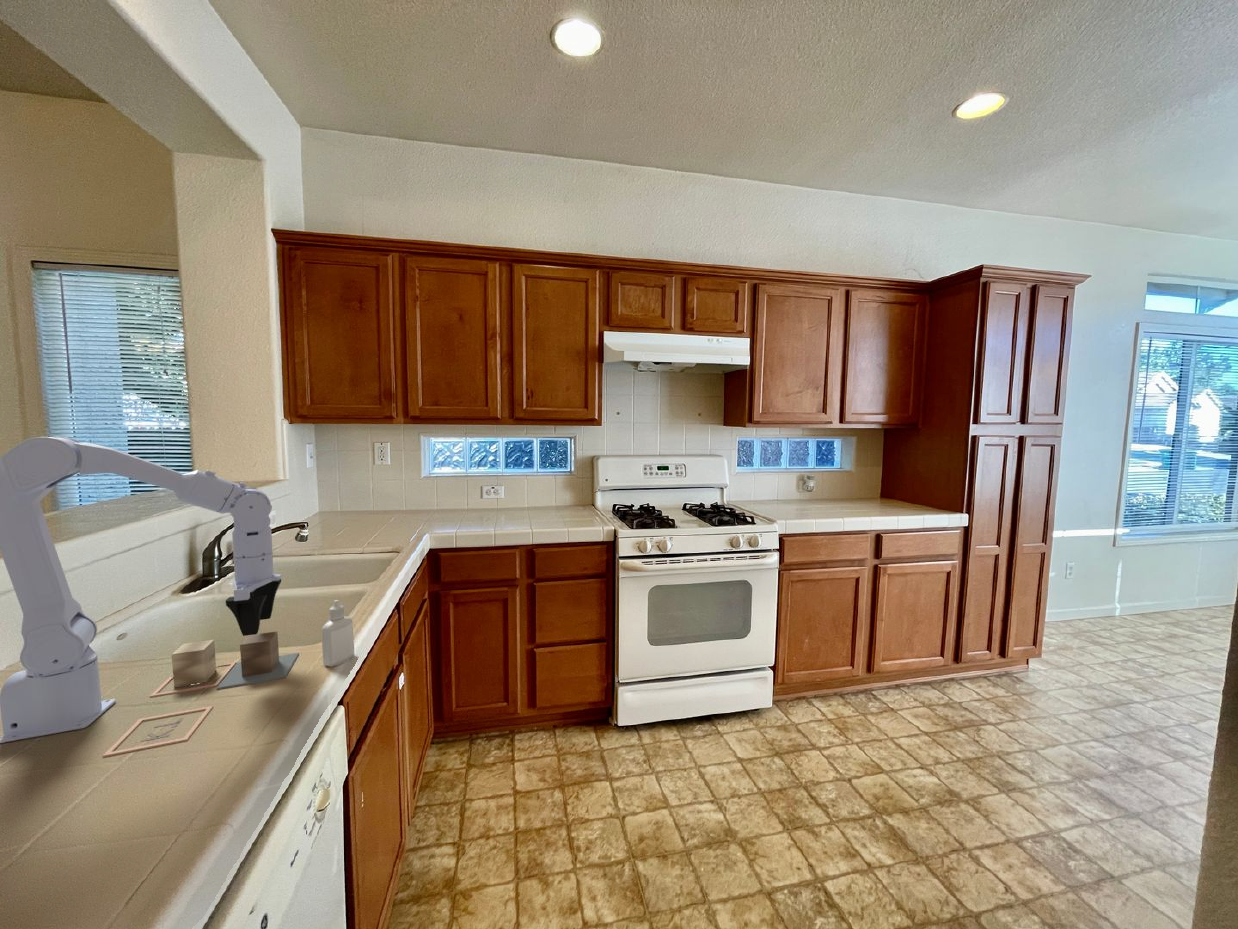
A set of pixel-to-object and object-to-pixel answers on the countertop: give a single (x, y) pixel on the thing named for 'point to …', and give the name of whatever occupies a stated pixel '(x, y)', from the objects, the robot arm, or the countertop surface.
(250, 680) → the coaster
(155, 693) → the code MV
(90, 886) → the countertop surface
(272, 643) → the walnut block
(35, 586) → the robot arm
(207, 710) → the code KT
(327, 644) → the eye dropper bottle
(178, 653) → the oak block
